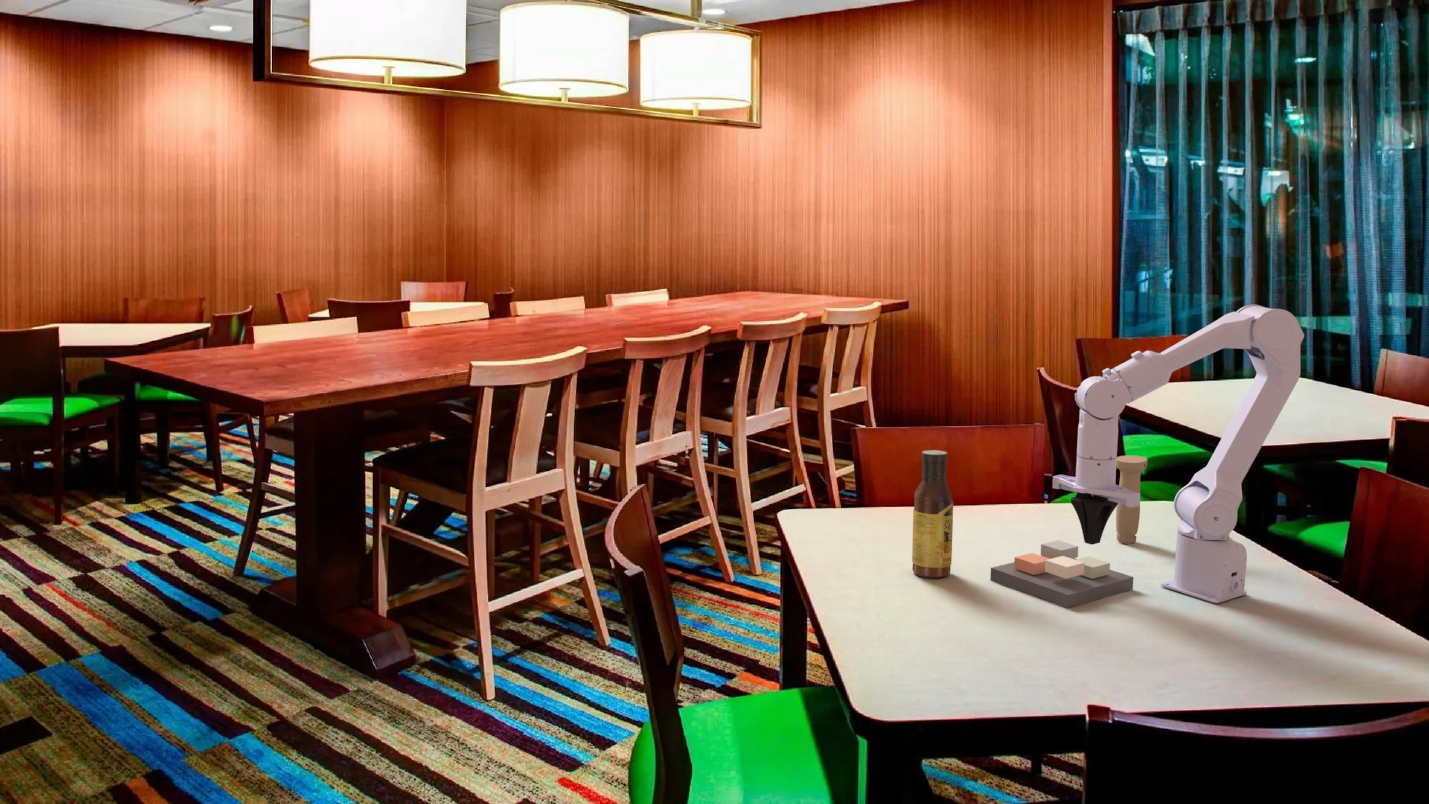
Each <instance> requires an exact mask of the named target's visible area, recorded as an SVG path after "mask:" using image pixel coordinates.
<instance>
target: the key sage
mask: <svg viewBox="0 0 1429 804" xmlns="http://www.w3.org/2000/svg"><path fill="white" fill-rule="evenodd" d="M1075 559H1076V560H1078V561H1081V562H1084V563H1085V564H1084V574H1083V575H1082V576H1085V577H1088V578H1091V579H1094V578H1097V577H1101V576H1105V575H1109V571H1110V570H1111V569H1110V567H1111V562H1108V561H1104V560H1102V559H1099V558H1095V557H1091V556H1085V557H1080V558H1075Z"/></svg>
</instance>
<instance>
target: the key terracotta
mask: <svg viewBox="0 0 1429 804" xmlns="http://www.w3.org/2000/svg"><path fill="white" fill-rule="evenodd" d="M1048 559H1049V558H1046V557H1043V556H1042V555H1041V554H1036V553H1034V552H1031V553H1027V554H1021V555H1018V556H1015V557H1014V561H1013V562H1014V568H1015V569H1018V570H1021V571H1024V572H1027V573H1030V574H1033V575H1036V574H1040V573H1044V572H1045V560H1048Z"/></svg>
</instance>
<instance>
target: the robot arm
mask: <svg viewBox="0 0 1429 804" xmlns="http://www.w3.org/2000/svg"><path fill="white" fill-rule="evenodd" d="M1304 337H1305V333H1304V332H1303V330H1302V327H1301V325H1300V323H1299V322H1298V319H1297V317H1295V316H1294V314H1292V312H1290V311H1288V310H1286V309H1282V308H1269V307H1265V306H1263V305H1259V304H1249V305H1248V304H1247V305H1245V306H1242V307H1241V308H1239V309H1237V310H1236V311H1232V312H1228V313H1226V314H1224V315H1223V316H1221V317H1219V318H1218V319H1217V320H1214V321H1213V322H1211V323H1209V324H1208V325H1206V326H1205V327H1203V328H1201V329H1199V330H1198V331H1196V332H1194V333H1192V334H1190V335H1189V336H1187V337H1185V338H1183V339H1181V340H1180V341H1179V342H1177V343H1175V344H1174V345H1172V346H1169V347H1168V348H1166V349H1165V350H1163V351H1161V352H1155V351H1153V350H1145V351H1144V352H1142V351H1140V350H1137V351H1135V352H1133V353H1131V354H1130V356H1131V358H1130V359H1128V360H1126V361H1125V362H1123V363H1120V364H1118V365H1117V366H1115V367H1113V368H1111V369H1110V368H1109V367H1107V368H1105V369H1103V370H1102V371H1101V372H1102V376H1101V375H1098V376H1096V375H1094V376H1090V377H1087V378H1086V379H1084V380H1083V381H1082V382H1081V383H1080V386H1078V387H1077V391H1076V392H1075V393H1074V400H1075V403H1076V405H1077V406H1078V407H1079V415H1078V417H1079V422H1078V425H1077V426H1078V427H1077V444H1076V445H1077V446H1076V464H1075V465H1076V466H1075V476H1069V475H1065V474H1057V475H1054V476H1052V489H1054V490H1055V489H1056V490H1060V489H1061V490H1064V491H1068V492H1069V491H1070V492H1072V493H1076V494H1075V496H1073V497H1071V498H1070V504H1071V506H1072V507H1073V509H1074V510H1075V512H1076V515H1077V518H1078V520H1079V521H1078V522H1079V524H1080V527H1081V532H1082V536H1083V541H1084V542H1083V543H1085V544H1088V545H1096V544H1100V543H1101V541H1102V536H1103V533H1104V530H1105V528H1106V526H1107V523H1108V521H1109V519H1110V517H1111V515H1112V514H1113V512H1114V510H1116V507H1117V505H1118V503H1120V504H1124V505H1126V506H1127V507H1131V508H1132V507H1136V506H1140V507H1141V492H1140V493H1137V492H1134V491H1131V490H1128V489H1126V488H1123V487H1121V486H1119V485H1118V484H1116V479H1117V478H1116V476H1117V474H1116V473H1117V472H1116V471H1117V467H1116V461H1117V457H1118V456H1117V455H1118V442H1119V441H1118V440H1119V415H1120V414H1121V413H1122V412H1123V410H1124V409H1125V407H1126V405H1127V404H1128V405H1129V404H1131V403H1133V402H1134V401H1137V400H1138V399H1140V398H1142V397H1144V396H1147V395H1149V394H1150V393H1152V392H1154V391H1156V390H1158V389H1160V388H1162V387H1164V386H1165V385H1167V384H1168V383H1169V381H1170V378H1171V375H1172V374H1173V372H1175V371H1177V370H1180V369H1181V368H1183V367H1186V366H1187V365H1190V364H1192V363H1194V362H1196V361H1199V360H1201V359H1203V358H1205V357H1206V356H1209V355H1211V354H1213V353H1216V352H1218V351H1220V350H1223V349H1238V350H1239V349H1240V350H1244V351H1245V352H1246V354H1247V355H1248V356H1249V358H1250V360H1251V363H1252V364H1251V365H1253V368H1254V370H1255V374H1256V375H1255V377H1254V378H1253V380H1252V382H1251V384H1250V386H1248V387H1249V388H1248V389H1247V391H1246V393H1245V396H1244V397H1243V399H1242V400H1241V401H1240V404H1239V405H1238V408H1237V409H1236V412H1235V413H1234V415H1233V417H1232V419H1231V421H1230V423H1229V424H1228V426H1227V428H1226V430H1225V431H1224V433H1223V435H1222V437H1221V439H1220V441H1219V442H1218V444H1217V446H1216V448H1215V450H1214V452H1213V453H1212V455H1211V457H1210V459H1209V461H1208V463H1207V465H1206V466H1205V467H1203V468H1202V469H1200V470H1199V471H1197V472H1196V473H1194V475H1193V476H1192V478H1191V480H1190V481H1189V482H1188V483H1187V484H1186V485H1185V486H1183V487H1182V488H1180V489H1179V490H1178V491H1177V493H1176V495H1175V497H1174V500H1173V508H1174V509H1173V510H1174V512H1175V513H1176V516H1177V517H1179V519H1180V521H1179V524H1178V525H1177V531H1176V532H1177V533H1176V543H1175V544H1176V547H1175V559H1174V560H1175V561H1174V574H1173V579H1170V580H1168V581H1163V582H1161V583H1160V585H1161V587H1163V588H1166V589H1170V590H1173V591H1176V592H1178V593H1183V594H1185V595H1188V596H1190V597H1194V598H1198V599H1200V600H1205V601H1207V602H1209V603H1214V604H1220V603H1223V602H1225V601H1228V600H1232V599H1235V598H1238V597H1241V596H1245V595H1247V594H1248V590H1245V585H1246V572H1247V559H1248V555H1247V554H1248V553H1247V550H1246V547H1245V546H1244V544H1243V543H1240V542H1238V541H1235V540H1233V539H1232V537H1231V536H1230V533H1232V531H1233V530H1234V529H1235V527H1236V526H1237V522H1238V510H1239V507H1240V505H1241V504H1242V501H1243V491H1242V490H1243V489H1242V483H1243V480H1244V478H1245V477H1246V475H1247V473H1248V472H1249V470H1250V468H1251V466H1252V464H1253V463H1254V461H1255V459H1256V457H1257V456H1258V454H1259V452H1260V450H1261V448H1262V447H1263V445H1264V443H1265V441H1266V439H1267V437H1268V436H1269V434H1270V432H1271V430H1272V428H1273V426H1274V425H1275V423H1276V421H1277V420H1278V417H1279V416H1280V414H1281V413H1282V410H1283V409H1284V407H1285V405H1286V403H1287V401H1288V400H1289V398H1290V395H1291V394H1292V392H1293V390H1294V388H1295V387H1296V386H1297V383H1298V381H1299V379H1300V377H1301V344H1302V342H1303V340H1304Z"/></svg>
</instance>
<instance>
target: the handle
mask: <svg viewBox="0 0 1429 804" xmlns="http://www.w3.org/2000/svg"><path fill="white" fill-rule="evenodd" d="M1147 467H1148V458H1147V457H1144V456H1139V455H1130V454H1128V455H1127V454H1126V455H1120V456H1117V461H1116V469H1118V470H1119V476H1120V477H1119V485H1118V486H1121V487H1123V488H1126V489H1128V490H1131V491H1134V492H1137V493H1140V494H1141V474H1142V472H1143V471H1145V470H1146V469H1147ZM1115 512H1116V513H1115V528H1116V529H1115V531H1116V540H1117V541H1118V543H1120V544H1125V545H1131V544H1132V545H1133V544H1136V541H1137V536H1136V535H1137V534H1138V530H1139V525H1140V517H1141V515H1140V514H1141V505H1140V506H1136V507H1132V508H1131V507H1127V506H1126V505H1124V504H1120V503H1118V505H1117V506H1116V508H1115Z"/></svg>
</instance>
